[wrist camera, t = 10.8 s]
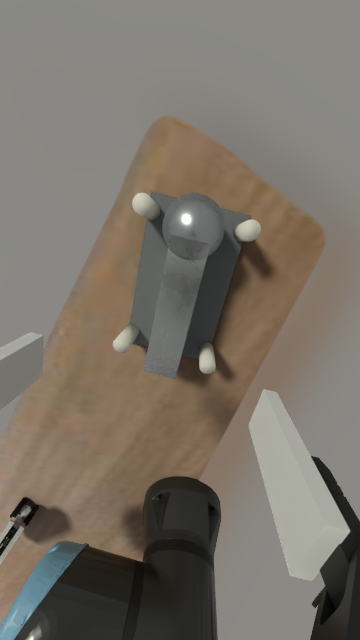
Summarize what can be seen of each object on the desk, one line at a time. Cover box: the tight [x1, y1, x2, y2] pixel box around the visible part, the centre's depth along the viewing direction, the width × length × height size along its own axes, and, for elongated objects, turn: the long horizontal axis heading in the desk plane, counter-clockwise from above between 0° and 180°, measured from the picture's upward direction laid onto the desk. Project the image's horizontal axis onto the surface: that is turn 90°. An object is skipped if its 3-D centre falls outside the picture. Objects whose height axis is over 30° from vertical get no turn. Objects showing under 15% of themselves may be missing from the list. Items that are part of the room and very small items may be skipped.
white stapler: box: [0, 498, 39, 564], centre depth 45 cm, size 4×10×15 cm
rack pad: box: [113, 191, 261, 374], centre depth 28 cm, size 20×13×6 cm, turn 167°
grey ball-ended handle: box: [144, 193, 225, 379], centre depth 27 cm, size 20×6×6 cm, turn 167°
